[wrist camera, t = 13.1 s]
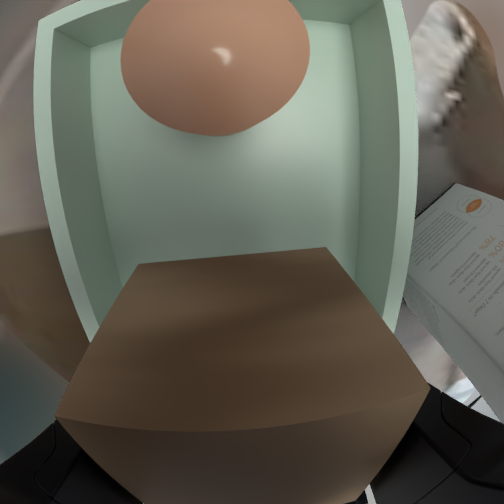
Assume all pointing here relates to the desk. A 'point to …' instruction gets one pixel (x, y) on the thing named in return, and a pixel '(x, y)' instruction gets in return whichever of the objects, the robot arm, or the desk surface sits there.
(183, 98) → the terracotta cylinder
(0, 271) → the desk surface
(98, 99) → the tote
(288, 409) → the walnut block
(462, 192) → the small box
